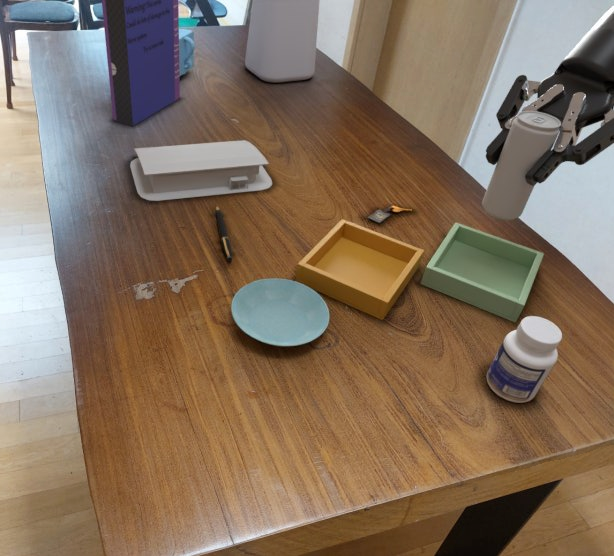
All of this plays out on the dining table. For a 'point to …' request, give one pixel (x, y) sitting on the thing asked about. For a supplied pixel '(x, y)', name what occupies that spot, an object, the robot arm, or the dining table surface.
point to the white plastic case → (199, 170)
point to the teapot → (186, 50)
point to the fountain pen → (224, 235)
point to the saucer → (280, 312)
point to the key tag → (385, 213)
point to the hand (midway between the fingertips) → (509, 170)
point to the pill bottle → (524, 359)
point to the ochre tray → (360, 268)
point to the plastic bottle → (282, 39)
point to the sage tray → (483, 271)
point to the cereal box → (141, 56)
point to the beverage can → (519, 163)
